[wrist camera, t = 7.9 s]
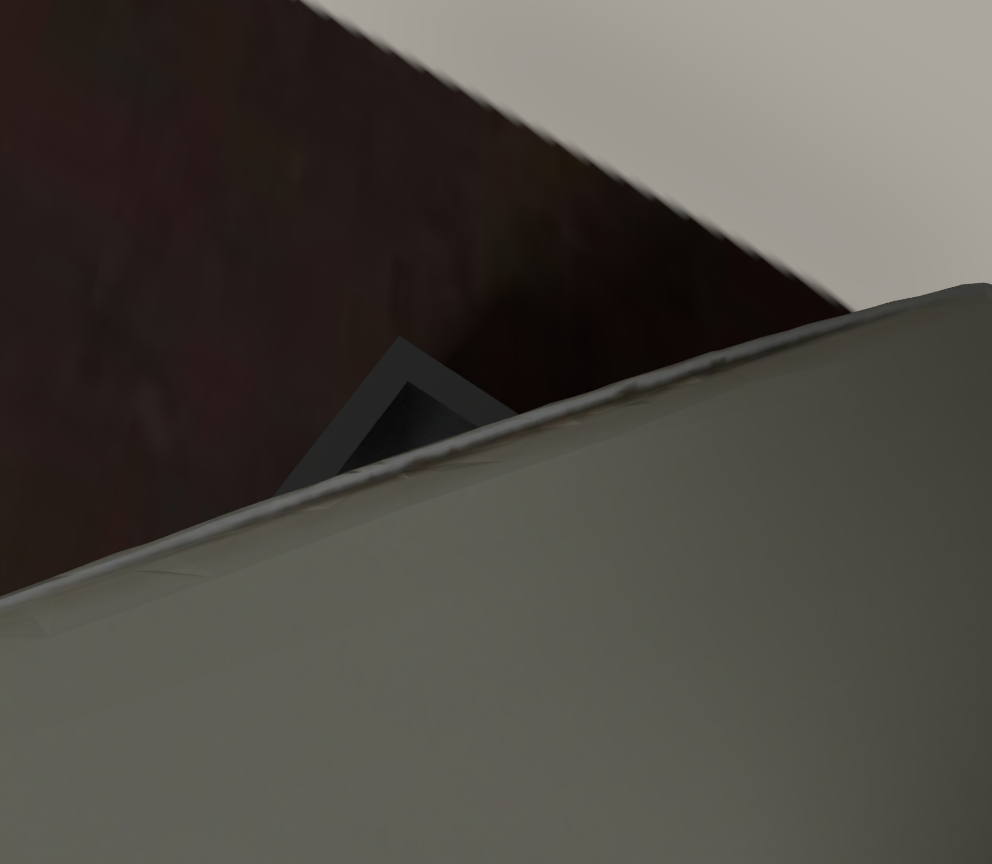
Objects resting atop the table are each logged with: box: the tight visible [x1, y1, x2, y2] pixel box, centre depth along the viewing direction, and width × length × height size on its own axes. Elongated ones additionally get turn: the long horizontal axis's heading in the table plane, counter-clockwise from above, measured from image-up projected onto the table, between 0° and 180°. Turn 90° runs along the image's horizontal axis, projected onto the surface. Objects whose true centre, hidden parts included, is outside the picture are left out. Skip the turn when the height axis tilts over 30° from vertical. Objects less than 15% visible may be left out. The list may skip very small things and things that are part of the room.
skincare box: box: [0, 283, 992, 864], centre depth 9 cm, size 6×4×12 cm
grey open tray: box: [272, 336, 519, 498], centre depth 15 cm, size 10×10×4 cm
